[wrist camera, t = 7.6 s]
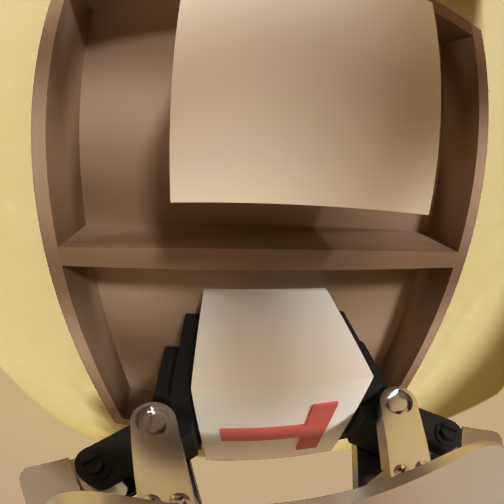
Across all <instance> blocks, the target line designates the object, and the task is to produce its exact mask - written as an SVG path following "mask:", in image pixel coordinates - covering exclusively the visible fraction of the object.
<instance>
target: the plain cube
mask: <svg viewBox="0 0 504 504" xmlns="http://www.w3.org/2000/svg"><path fill="white" fill-rule="evenodd" d="M440 123H441V70H440V55H439V44H438V35H437V28H436V21H435V15H434V9H433V4H432V2H430V1H428V0H180V7H179V14H178V21H177V30H176V38H175V48H174V59H173V72H172V87H171V107H170V203H173V202H225V203H269V204H294V205H314V206H331V207H346V208H360V209H372V210H383V211H394V212H404V213H414V214H423V215H429V212H430V206H431V201H432V195H433V189H434V183H435V176H436V168H437V160H438V150H439V139H440Z"/></svg>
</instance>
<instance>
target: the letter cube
mask: <svg viewBox="0 0 504 504" xmlns="http://www.w3.org/2000/svg"><path fill="white" fill-rule="evenodd" d="M373 377H374V376H373V374H372V372H371V370H370V368H369V366H368V364H367V362H366V360H365V358H364V357H363V355H362V353H361V351H360V349H359V347H358V345H357V343H356V341H355V340H354V338H353V336H352V334H351V332H350V330H349V328H348V327H347V325H346V323H345V321H344V319H343V317H342V316H341V314H340V312H339V310H338V308H337V307H336V305H335V303H334V301H333V300H332V298H331V296H330V294H329V292H328V291H327V289H326V288H306V289H204V291H203V298H202V305H201V312H200V319H199V326H198V333H197V341H196V349H195V357H194V365H193V374H192V383H191V392H192V398H193V403H194V408H195V413H196V417H197V422H198V427H199V431H200V436H201V440H202V444H203V448H204V452H205V456H206V460H260V459H274V458H285V457H294V456H302V455H309V454H315V453H321V452H327V451H331V450H332V449H333V447H334V446H335V444H336V443H337V441H338V439H339V438H340V436H341V435H342V433H343V432H344V430H345V428H346V427H347V425H348V423H349V422H350V420H351V418H352V416H353V415H354V413H355V411H356V409H357V408H358V406H359V404H360V402H361V400H362V399H363V397H364V395H365V393H366V391H367V389H368V387H369V385H370V383H371V381H372V379H373Z"/></svg>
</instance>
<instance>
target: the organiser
mask: <svg viewBox="0 0 504 504" xmlns="http://www.w3.org/2000/svg"><path fill="white" fill-rule="evenodd" d="M428 1H430V2H432V4H433V9H434V15H435V21H436V28H437V35H438V44H439V55H440V70H441V123H440V139H439V150H438V160H437V168H436V176H435V183H434V189H433V195H432V201H431V206H430V212H429V215H423V214H414V213H404V212H394V211H383V210H372V209H360V208H346V207H331V206H314V205H294V204H269V203H225V202H173V203H170V107H171V87H172V72H173V59H174V48H175V38H176V30H177V21H178V14H179V7H180V0H51V2H50V5H49V8H48V12H47V15H46V19H45V23H44V27H43V31H42V35H41V40H40V45H39V50H38V56H37V62H36V69H35V76H34V85H33V96H32V113H31V154H32V171H33V183H34V192H35V200H36V208H37V214H38V220H39V226H40V231H41V237H42V241H43V246H44V251H45V255H46V259H47V263H48V267H49V271H50V274H51V278H52V282H53V285H54V288H55V292H56V295H57V298H58V301H59V304H60V307H61V310H62V313H63V316H64V318H65V321H66V324H67V326H68V329H69V332H70V334H71V337H72V339H73V341H74V344H75V346H76V349H77V351H78V353H79V355H80V358H81V360H82V362H83V364H84V366H85V368H86V370H87V373H88V375H89V377H90V379H91V381H92V383H93V384H94V386H95V388H96V390H97V392H98V394H99V396H100V398H101V399H102V401H103V403H104V405H105V406H106V408H107V410H108V412H109V413H110V415H111V417H112V418H113V420H114V422H115V423H119V424H124V425H130V419H131V415H132V413H133V411H134V410H135V409H136V408H137V407H138V406H140V405H142V404H144V403H149V402H152V401H153V396H154V391H155V387H156V382H157V378H158V374H159V369H160V365H161V361H162V357H163V353H164V349H165V347H166V346H176V347H179V344H180V339H181V334H182V329H183V324H184V319H185V315H186V313H197V314H200V312H201V305H202V298H203V291H204V289H306V288H326V289H327V291H328V292H329V294H330V296H331V298H332V300H333V301H334V303H335V305H336V307H337V308H338V310H339V311H343V312H344V313H345V315H346V317H347V319H348V320H349V322H350V324H351V326H352V327H353V329H354V331H355V333H356V335H357V336H358V338H359V340H360V341H362V342H363V343H364V344H365V346H366V347H367V349H368V351H369V353H370V355H371V356H372V358H373V360H374V362H375V364H376V366H377V367H378V369H379V371H380V373H381V375H382V377H383V379H384V381H385V382H386V384H387V386H388V388H390V387H402V388H405V389H407V387H408V385H409V384H410V382H411V380H412V379H413V377H414V375H415V374H416V372H417V370H418V368H419V366H420V365H421V363H422V361H423V359H424V357H425V355H426V354H427V352H428V350H429V348H430V346H431V344H432V342H433V340H434V338H435V336H436V333H437V331H438V329H439V327H440V325H441V323H442V320H443V318H444V316H445V314H446V311H447V309H448V306H449V304H450V301H451V299H452V296H453V294H454V291H455V288H456V286H457V283H458V280H459V277H460V274H461V271H462V268H463V265H464V262H465V259H466V256H467V252H468V249H469V245H470V242H471V238H472V234H473V230H474V226H475V222H476V218H477V213H478V208H479V203H480V198H481V192H482V186H483V179H484V172H485V164H486V154H487V141H488V81H487V69H486V60H485V52H484V45H483V39H482V34H481V30H479V29H478V28H476V27H475V26H474V25H472V24H471V23H469V22H468V21H467V20H465V19H464V18H462V17H461V16H459V15H458V14H456V13H454V12H453V11H451V10H450V9H448V8H446V7H445V6H443V5H441V4H439V3H438V2H436V1H434V0H428Z"/></svg>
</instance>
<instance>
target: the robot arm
mask: <svg viewBox="0 0 504 504" xmlns="http://www.w3.org/2000/svg"><path fill="white" fill-rule="evenodd" d="M339 312H340V314H341V316H342V317H343V319H344V321H345V323H346V325H347V327H348V328H349V330H350V332H351V334H352V336H353V338H354V340H355V341H356V343H357V345H358V347H359V349H360V351H361V353H362V355H363V357H364V358H365V360H366V362H367V364H368V366H369V368H370V370H371V372H372V374H373V376H374V377H373V379H372V381H371V383H370V385H369V387H368V389H367V391H366V393H365V395H364V397H363V399H362V400H361V402H360V404H359V406H358V408H357V409H356V411H355V413H354V415H353V416H352V418H351V420H350V422H349V423H348V425H347V427H346V428H345V430H344V432H343V433H342V435H341V436H340V438H339V439H338V440H340V439H345V438H348V441H349V443H352V468H353V489H352V490H348V491H345V492H341V493H337V494H332V495H327V496H322V497H317V498H312V499H306V500H299V501H292V502H285V503H275V504H504V446H503V443H502V439H501V437H500V435H499V434H498V433H497V432H494V431H488V430H480V429H474V428H468V427H462V428H461V429H460V428H459V426H458V425H457V424H456V423H455V422H453V421H451V420H449V419H446V418H444V417H441V416H438V415H436V414H433V413H430V412H428V411H425V410H423V409H420V408H418V405H417V402H416V399H415V397H414V395H413V394H412V393H411V392H410V391H408V390H407V389H405V388H402V387H390V388H388V386H387V384H386V382H385V381H384V379H383V377H382V375H381V373H380V371H379V369H378V367H377V366H376V364H375V362H374V360H373V358H372V356H371V355H370V353H369V351H368V349H367V347H366V346H365V344H364V343H363V342H362V341H360V340H359V338H358V336H357V335H356V333H355V331H354V329H353V327H352V326H351V324H350V322H349V320H348V319H347V317H346V315H345V313H344V312H343V311H339ZM199 319H200V314H197V313H186V315H185V319H184V324H183V329H182V334H181V339H180V344H179V347H176V346H166V347H165V349H164V353H163V357H162V361H161V365H160V369H159V374H158V378H157V382H156V387H155V391H154V396H153V401H152V402H149V403H144V404H142V405H140V406H138V407H137V408H136V409H135V410H134V411H133V413H132V415H131V419H130V425H129V426H127V427H125V428H123V429H121V430H120V431H118V432H116V433H114V434H112V435H110V436H109V437H107V438H105V439H103V440H101V441H99V442H97V443H95V444H93V445H91V446H89V447H87V448H85V449H83V450H82V451H81V452H79V454H78V455H77V457H76V458H75V459H72V460H70V459H69V458H65V459H62V460H58V461H54V462H50V463H45V464H41V465H37V466H32V467H28V468H25V469H24V470H23V471H22V472H21V475H20V485H21V488H22V492H23V495H24V497H25V501H26V504H202V501H201V498H200V494H199V491H198V487H197V483H196V480H195V476H194V472H193V468H192V464H191V459H192V458H194V457H195V456H197V455H198V450H201V443H202V440H201V436H200V431H199V427H198V422H197V417H196V413H195V408H194V403H193V398H192V392H191V383H192V374H193V365H194V357H195V349H196V341H197V333H198V326H199ZM136 494H137V498H136V497H132V496H134V495H136Z"/></svg>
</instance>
